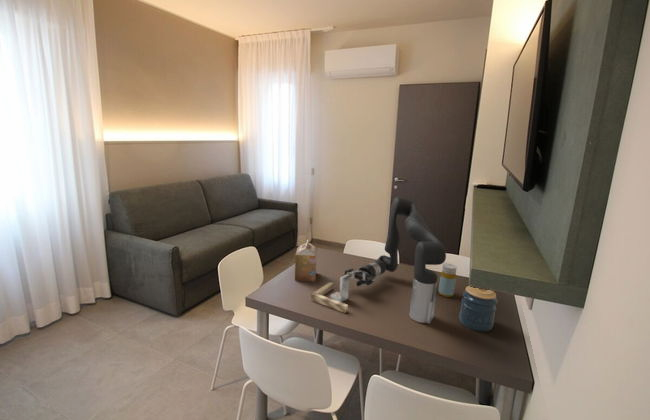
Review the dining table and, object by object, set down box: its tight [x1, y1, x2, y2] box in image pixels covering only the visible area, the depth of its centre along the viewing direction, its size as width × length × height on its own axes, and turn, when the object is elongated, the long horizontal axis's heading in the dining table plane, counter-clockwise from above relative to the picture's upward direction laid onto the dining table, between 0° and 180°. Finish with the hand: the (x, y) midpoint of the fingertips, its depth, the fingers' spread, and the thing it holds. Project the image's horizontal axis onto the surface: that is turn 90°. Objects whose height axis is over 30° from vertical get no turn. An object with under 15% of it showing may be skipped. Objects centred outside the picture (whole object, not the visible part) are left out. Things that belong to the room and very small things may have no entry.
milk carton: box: [294, 239, 318, 282], centre depth 164 cm, size 11×11×19 cm
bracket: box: [329, 274, 350, 303], centre depth 143 cm, size 7×5×12 cm
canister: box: [458, 285, 499, 332], centre depth 128 cm, size 13×13×18 cm
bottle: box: [438, 262, 457, 298], centre depth 152 cm, size 7×7×15 cm
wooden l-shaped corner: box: [310, 281, 349, 314], centre depth 143 cm, size 18×16×3 cm
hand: (349, 280), depth 144 cm, fingers open, 8 cm apart
